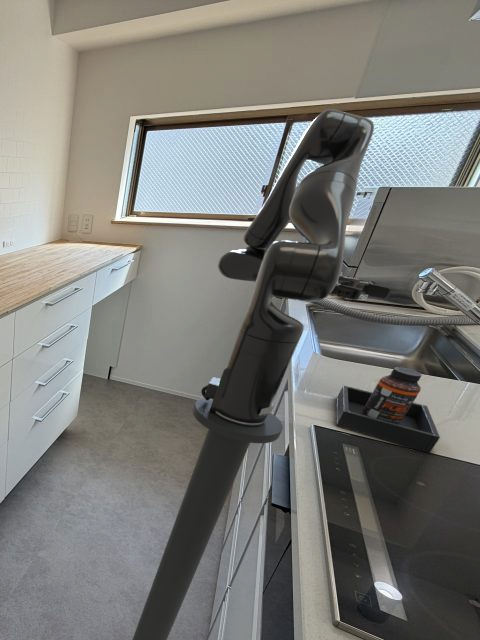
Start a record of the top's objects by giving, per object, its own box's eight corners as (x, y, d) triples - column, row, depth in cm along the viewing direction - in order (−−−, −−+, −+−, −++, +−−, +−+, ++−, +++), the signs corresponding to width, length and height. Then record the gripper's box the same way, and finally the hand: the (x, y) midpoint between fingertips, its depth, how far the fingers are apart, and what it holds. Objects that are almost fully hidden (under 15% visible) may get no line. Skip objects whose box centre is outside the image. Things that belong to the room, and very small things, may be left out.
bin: (336, 425, 83) (343, 410, 81) (336, 398, 94) (343, 385, 92) (429, 453, 76) (440, 437, 74) (418, 420, 86) (427, 405, 85)
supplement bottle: (372, 426, 82) (401, 375, 77) (353, 411, 88) (379, 363, 83) (406, 430, 82) (437, 379, 77) (384, 415, 87) (412, 366, 82)
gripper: (281, 260, 94) (358, 276, 80) (327, 260, 97) (408, 275, 84) (269, 293, 97) (340, 313, 83) (313, 291, 101) (389, 310, 87)
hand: (374, 294), depth 83 cm, fingers open, 8 cm apart
